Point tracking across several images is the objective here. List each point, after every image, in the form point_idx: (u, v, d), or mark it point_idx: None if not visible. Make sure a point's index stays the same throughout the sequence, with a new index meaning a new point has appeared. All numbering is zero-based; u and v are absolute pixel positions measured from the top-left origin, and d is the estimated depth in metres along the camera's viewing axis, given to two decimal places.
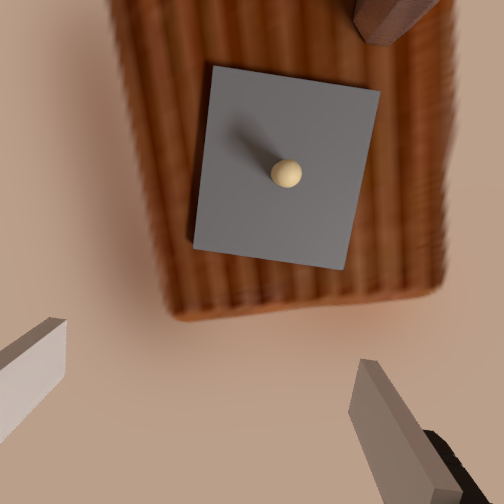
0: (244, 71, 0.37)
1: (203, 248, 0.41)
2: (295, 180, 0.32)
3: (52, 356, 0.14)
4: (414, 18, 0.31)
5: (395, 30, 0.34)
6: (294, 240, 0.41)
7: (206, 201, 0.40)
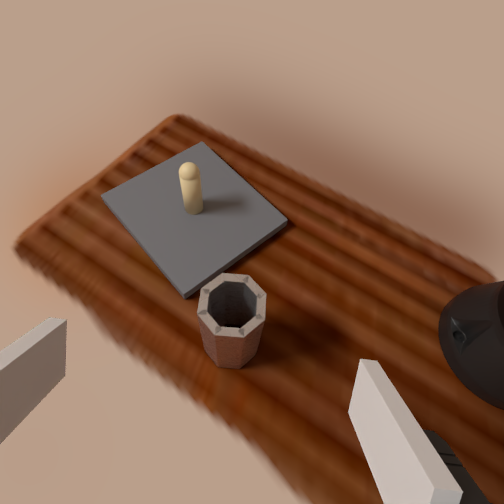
0: (270, 231, 0.48)
1: (196, 145, 0.56)
2: (181, 167, 0.43)
3: (52, 356, 0.14)
4: None
5: None
6: (149, 185, 0.51)
7: (219, 164, 0.54)
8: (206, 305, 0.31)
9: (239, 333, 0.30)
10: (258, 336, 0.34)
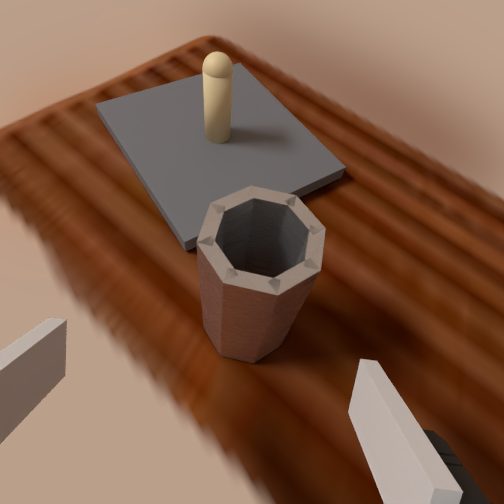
0: (319, 177, 0.34)
1: None
2: (207, 56, 0.29)
3: (52, 356, 0.14)
4: None
5: None
6: (162, 102, 0.38)
7: (259, 91, 0.41)
8: (215, 231, 0.17)
9: (270, 287, 0.16)
10: (297, 308, 0.20)
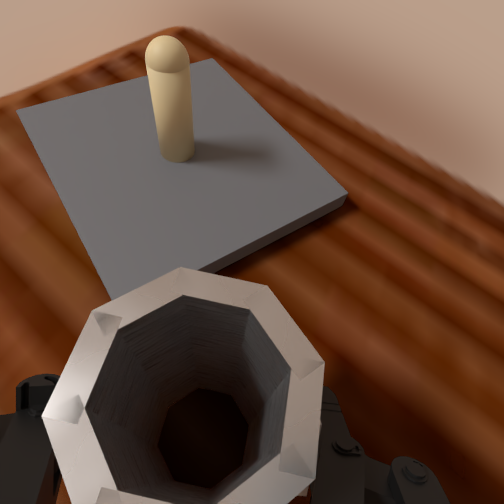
0: (313, 208, 0.25)
1: (202, 62, 0.34)
2: (150, 42, 0.20)
3: None
4: None
5: None
6: (107, 107, 0.29)
7: (235, 92, 0.32)
8: (91, 381, 0.08)
9: None
10: None
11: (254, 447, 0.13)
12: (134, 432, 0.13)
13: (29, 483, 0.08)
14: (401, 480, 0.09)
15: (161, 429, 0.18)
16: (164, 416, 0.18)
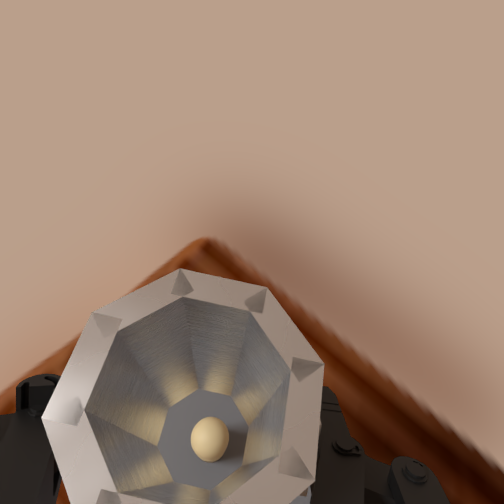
0: None
1: None
2: (196, 435, 0.23)
3: None
4: None
5: None
6: None
7: None
8: (91, 383, 0.08)
9: None
10: None
11: (254, 448, 0.13)
12: (134, 433, 0.13)
13: (29, 483, 0.08)
14: (401, 480, 0.09)
15: (161, 430, 0.18)
16: (164, 417, 0.18)
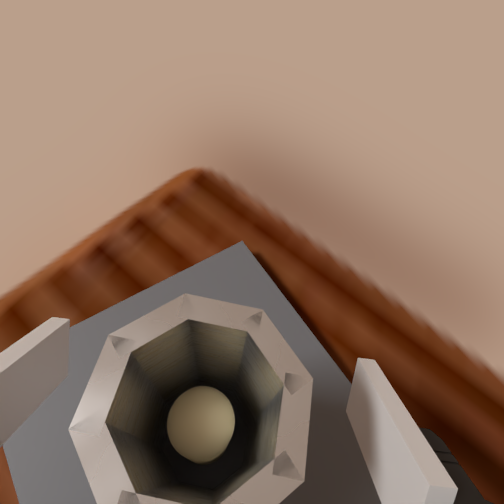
0: None
1: (229, 249, 0.26)
2: (176, 416, 0.13)
3: (55, 355, 0.14)
4: None
5: None
6: None
7: (276, 306, 0.24)
8: (110, 398, 0.09)
9: None
10: None
11: (253, 451, 0.15)
12: (143, 439, 0.14)
13: None
14: None
15: (166, 434, 0.19)
16: None
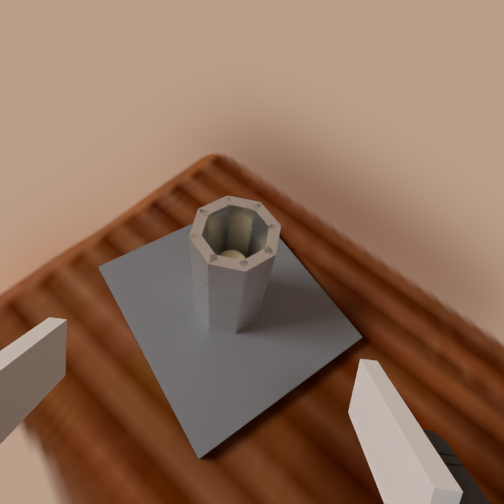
0: (336, 354, 0.33)
1: None
2: None
3: (52, 356, 0.14)
4: None
5: None
6: (168, 258, 0.36)
7: None
8: (202, 228, 0.24)
9: (240, 266, 0.23)
10: (263, 285, 0.27)
11: None
12: None
13: None
14: None
15: None
16: None
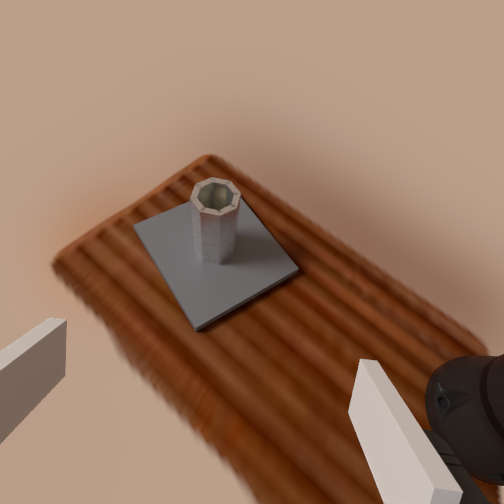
0: (281, 277, 0.53)
1: None
2: None
3: (52, 356, 0.14)
4: None
5: None
6: (177, 221, 0.57)
7: (243, 208, 0.59)
8: (197, 194, 0.44)
9: (217, 213, 0.43)
10: (232, 228, 0.47)
11: None
12: None
13: None
14: None
15: None
16: None
